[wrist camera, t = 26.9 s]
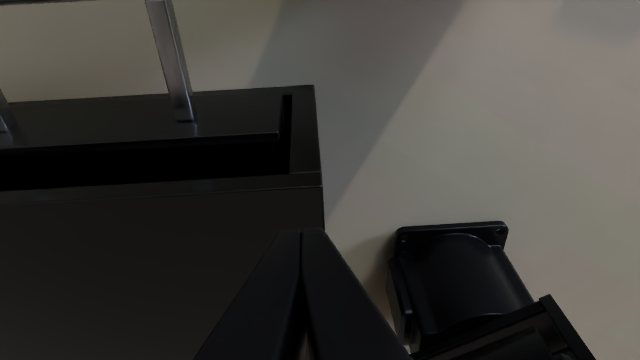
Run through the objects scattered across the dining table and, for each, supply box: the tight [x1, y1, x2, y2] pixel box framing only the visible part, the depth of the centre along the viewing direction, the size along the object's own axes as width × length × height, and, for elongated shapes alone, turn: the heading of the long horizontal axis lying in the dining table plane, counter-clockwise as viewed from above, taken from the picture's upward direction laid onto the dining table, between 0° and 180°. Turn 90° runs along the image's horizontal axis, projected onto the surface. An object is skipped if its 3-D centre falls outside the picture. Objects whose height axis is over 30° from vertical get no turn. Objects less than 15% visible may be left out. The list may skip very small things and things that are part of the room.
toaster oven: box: [0, 85, 325, 360], centre depth 19 cm, size 20×15×8 cm
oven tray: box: [0, 0, 289, 191], centre depth 18 cm, size 14×18×4 cm
